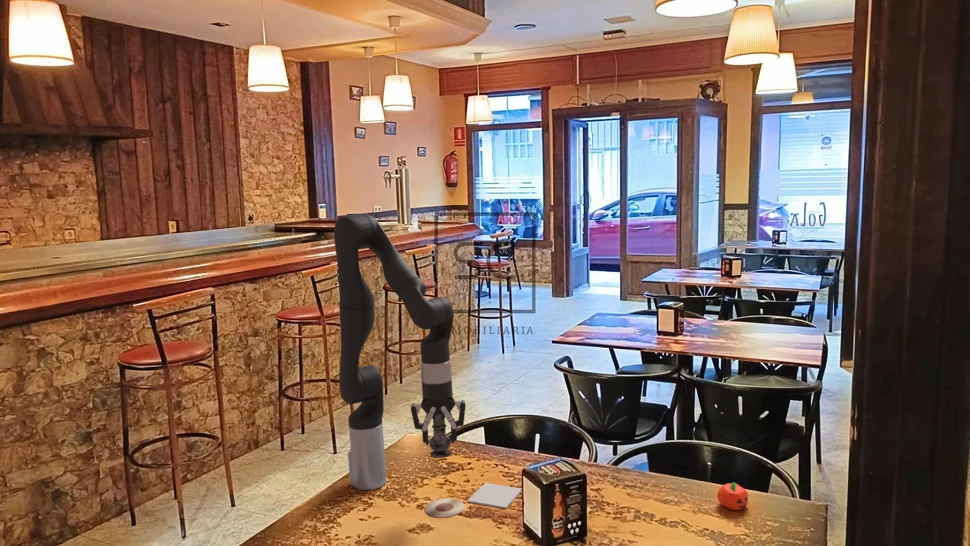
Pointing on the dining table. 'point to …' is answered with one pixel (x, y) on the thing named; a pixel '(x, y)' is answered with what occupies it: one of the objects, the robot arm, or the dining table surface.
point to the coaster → (444, 508)
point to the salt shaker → (439, 439)
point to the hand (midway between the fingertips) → (440, 442)
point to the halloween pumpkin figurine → (733, 496)
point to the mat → (495, 495)
